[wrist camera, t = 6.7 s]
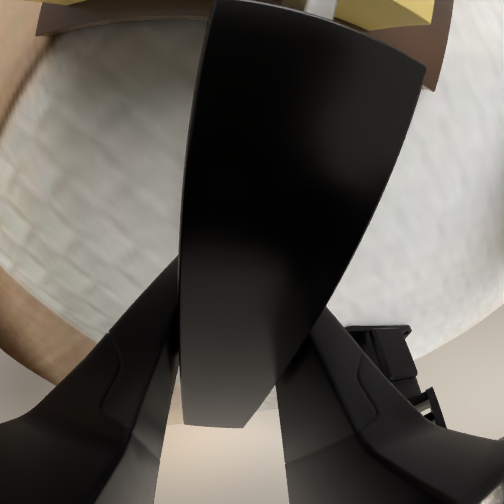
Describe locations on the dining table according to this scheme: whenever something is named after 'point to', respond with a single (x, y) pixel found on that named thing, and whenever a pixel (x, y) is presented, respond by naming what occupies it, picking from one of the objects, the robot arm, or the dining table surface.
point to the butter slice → (385, 13)
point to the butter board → (199, 3)
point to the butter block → (59, 1)
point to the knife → (277, 189)
